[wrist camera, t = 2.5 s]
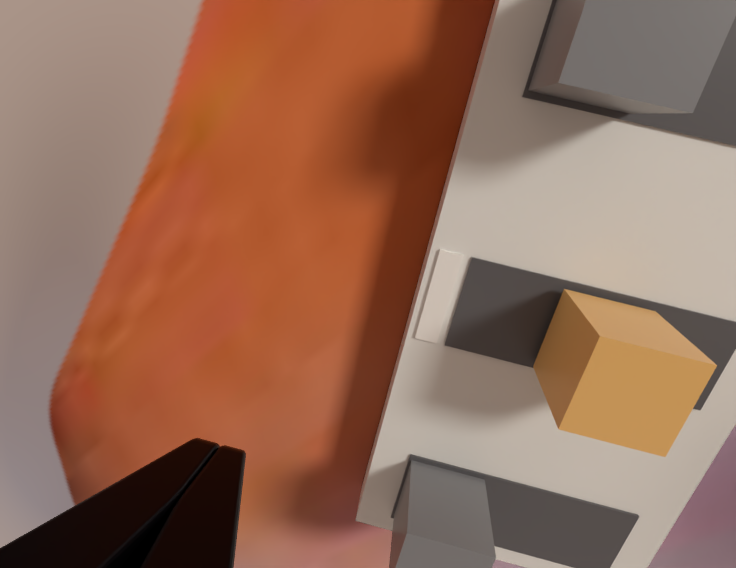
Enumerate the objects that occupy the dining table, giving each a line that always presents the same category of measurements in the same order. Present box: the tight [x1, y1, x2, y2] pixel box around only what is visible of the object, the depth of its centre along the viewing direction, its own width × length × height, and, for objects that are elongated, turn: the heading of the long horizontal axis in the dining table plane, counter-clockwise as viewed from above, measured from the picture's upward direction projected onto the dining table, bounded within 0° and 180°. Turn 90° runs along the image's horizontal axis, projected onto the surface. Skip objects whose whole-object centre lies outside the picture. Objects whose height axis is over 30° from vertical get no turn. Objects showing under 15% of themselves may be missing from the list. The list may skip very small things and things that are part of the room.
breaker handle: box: [533, 289, 717, 457], centre depth 14 cm, size 3×3×4 cm
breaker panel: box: [355, 0, 736, 568], centre depth 15 cm, size 12×22×6 cm, turn 168°
